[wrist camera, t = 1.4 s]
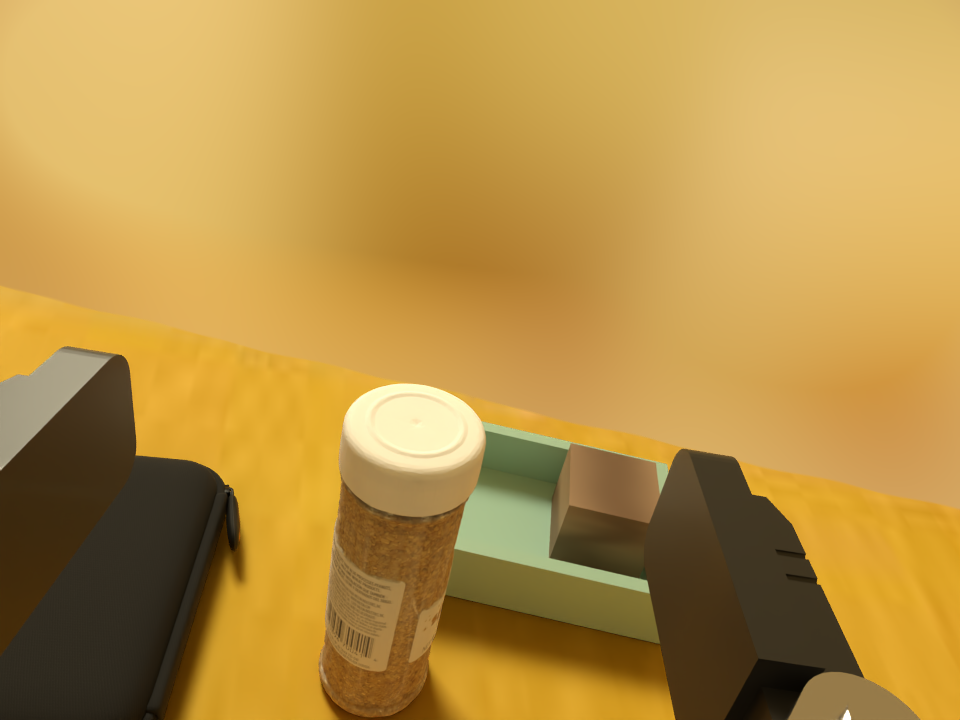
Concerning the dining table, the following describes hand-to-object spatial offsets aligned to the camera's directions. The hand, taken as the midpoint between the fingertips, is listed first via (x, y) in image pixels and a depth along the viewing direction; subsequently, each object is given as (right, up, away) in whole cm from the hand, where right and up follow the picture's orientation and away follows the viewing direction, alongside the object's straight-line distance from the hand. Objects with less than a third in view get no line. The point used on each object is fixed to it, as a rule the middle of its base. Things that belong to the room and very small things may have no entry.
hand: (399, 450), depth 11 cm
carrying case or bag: (-15, -9, +20) cm, 26 cm away
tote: (+3, -8, +27) cm, 28 cm away
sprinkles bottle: (-3, -12, +19) cm, 23 cm away
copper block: (+7, -8, +27) cm, 29 cm away
